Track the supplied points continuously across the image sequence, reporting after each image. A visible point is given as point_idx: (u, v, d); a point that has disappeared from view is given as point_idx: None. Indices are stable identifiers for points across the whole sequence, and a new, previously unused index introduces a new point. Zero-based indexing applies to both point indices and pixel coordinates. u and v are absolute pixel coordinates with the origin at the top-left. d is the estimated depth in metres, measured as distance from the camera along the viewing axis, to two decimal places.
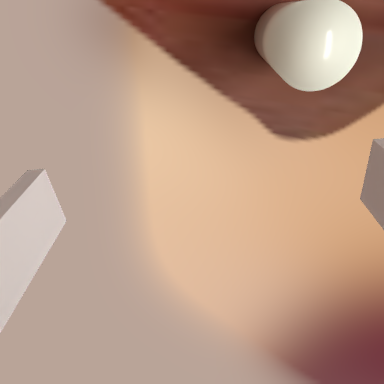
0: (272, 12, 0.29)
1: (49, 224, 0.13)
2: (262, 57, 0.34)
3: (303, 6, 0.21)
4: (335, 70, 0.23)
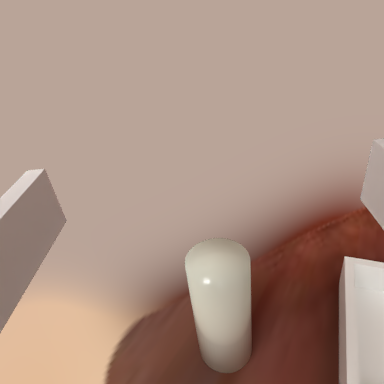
0: None
1: (49, 224, 0.13)
2: None
3: (248, 256, 0.28)
4: (195, 267, 0.28)
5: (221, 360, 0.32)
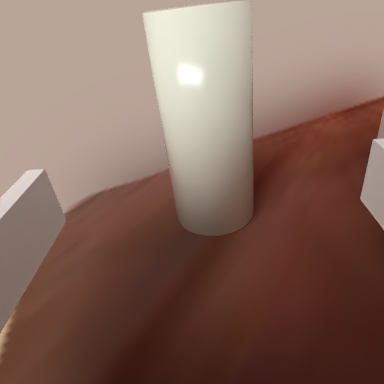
0: None
1: (49, 224, 0.13)
2: None
3: None
4: (158, 11, 0.17)
5: (207, 208, 0.21)
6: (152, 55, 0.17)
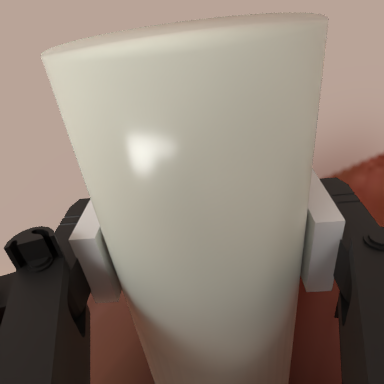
0: None
1: None
2: None
3: (313, 14, 0.07)
4: (82, 47, 0.06)
5: None
6: (75, 152, 0.07)
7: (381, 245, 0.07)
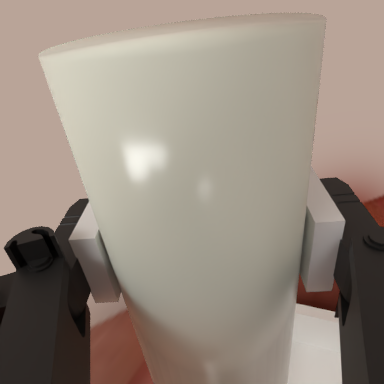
0: None
1: None
2: None
3: (311, 14, 0.07)
4: (80, 47, 0.06)
5: None
6: None
7: (381, 245, 0.07)
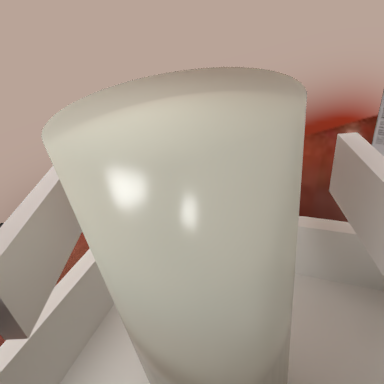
0: None
1: None
2: None
3: (296, 82, 0.07)
4: (80, 123, 0.07)
5: None
6: (76, 215, 0.08)
7: None
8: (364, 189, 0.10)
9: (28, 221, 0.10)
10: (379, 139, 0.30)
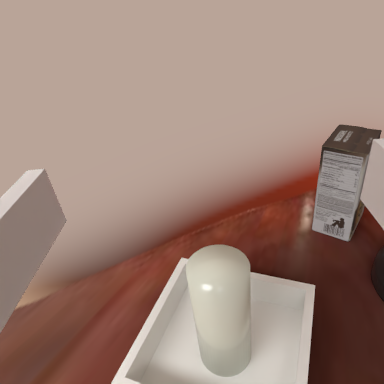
0: None
1: (49, 224, 0.13)
2: None
3: (248, 263, 0.29)
4: (195, 274, 0.28)
5: (221, 365, 0.33)
6: (191, 295, 0.29)
7: None
8: None
9: None
10: (317, 216, 0.52)
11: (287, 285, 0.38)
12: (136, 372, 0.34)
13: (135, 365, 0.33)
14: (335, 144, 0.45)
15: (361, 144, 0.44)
